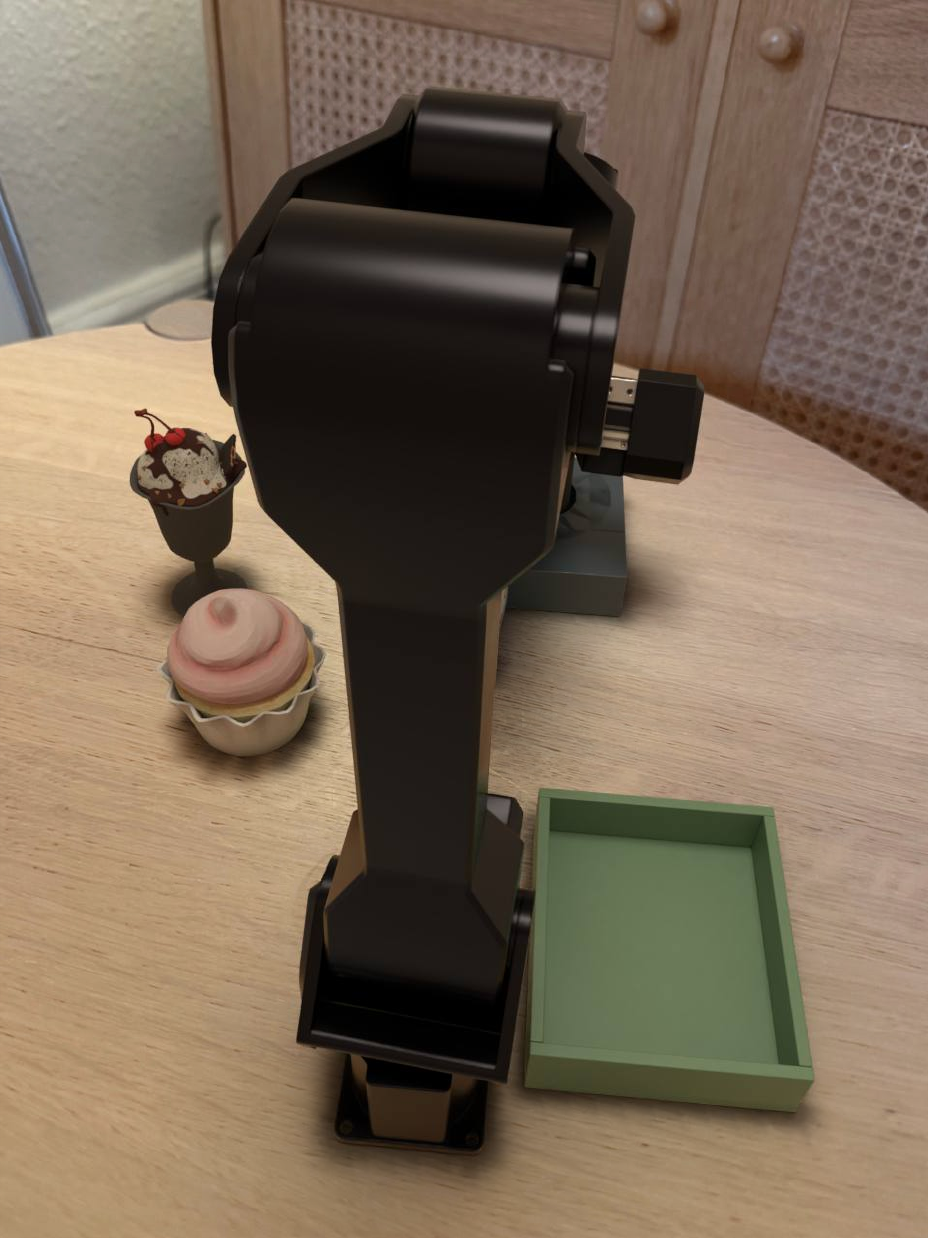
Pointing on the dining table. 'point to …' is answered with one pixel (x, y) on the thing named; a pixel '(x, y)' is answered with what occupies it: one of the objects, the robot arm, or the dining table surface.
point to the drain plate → (581, 554)
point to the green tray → (663, 953)
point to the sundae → (191, 503)
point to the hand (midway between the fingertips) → (543, 437)
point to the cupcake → (243, 670)
